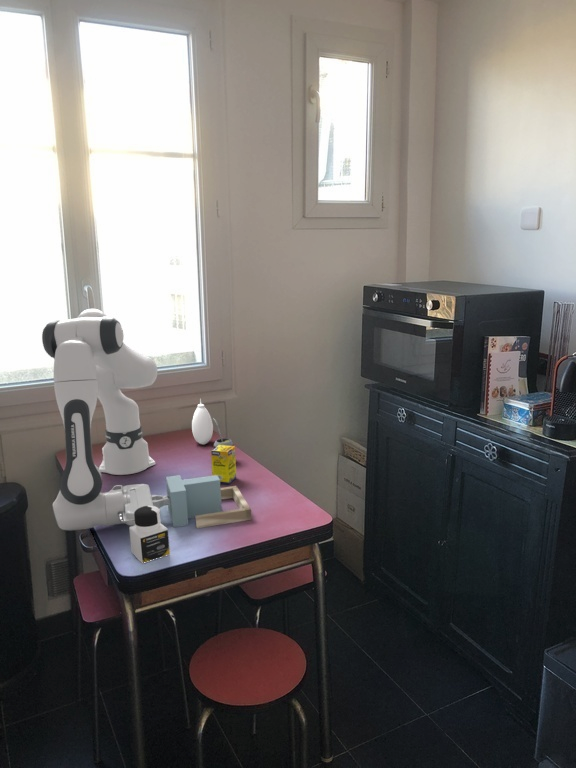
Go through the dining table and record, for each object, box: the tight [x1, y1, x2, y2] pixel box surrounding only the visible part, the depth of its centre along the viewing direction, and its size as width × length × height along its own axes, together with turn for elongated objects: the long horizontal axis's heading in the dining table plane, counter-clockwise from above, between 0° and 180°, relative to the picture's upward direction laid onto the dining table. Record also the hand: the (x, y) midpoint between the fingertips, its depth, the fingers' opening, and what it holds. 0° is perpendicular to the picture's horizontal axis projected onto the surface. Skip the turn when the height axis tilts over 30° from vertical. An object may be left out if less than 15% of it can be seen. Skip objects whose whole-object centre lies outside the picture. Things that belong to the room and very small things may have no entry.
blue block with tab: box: [165, 474, 223, 528], centre depth 174 cm, size 12×14×10 cm
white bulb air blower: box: [191, 397, 214, 446], centre depth 234 cm, size 8×8×18 cm
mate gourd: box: [212, 417, 235, 450], centre depth 214 cm, size 8×8×15 cm
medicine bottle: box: [129, 506, 171, 564], centre depth 152 cm, size 7×7×12 cm
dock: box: [195, 485, 252, 529], centre depth 176 cm, size 18×15×3 cm
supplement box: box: [210, 445, 237, 485], centre depth 198 cm, size 6×6×11 cm
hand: (169, 499), depth 172 cm, fingers closed
